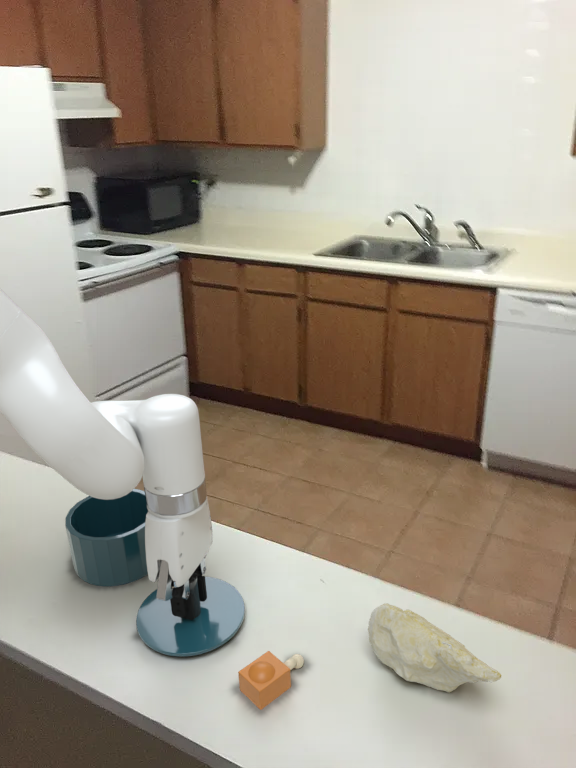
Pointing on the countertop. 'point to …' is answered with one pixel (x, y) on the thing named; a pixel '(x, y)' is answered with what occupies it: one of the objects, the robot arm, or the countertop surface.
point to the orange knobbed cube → (267, 678)
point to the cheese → (423, 651)
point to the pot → (108, 539)
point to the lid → (194, 636)
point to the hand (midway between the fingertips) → (189, 606)
